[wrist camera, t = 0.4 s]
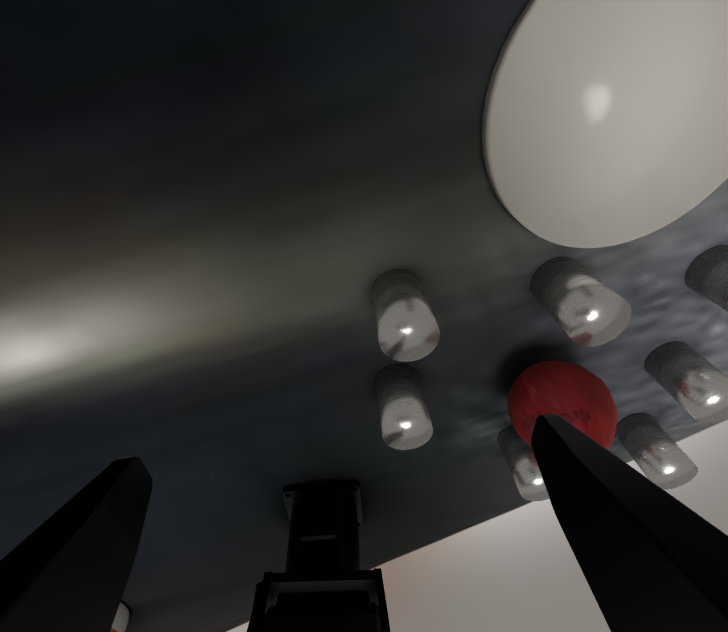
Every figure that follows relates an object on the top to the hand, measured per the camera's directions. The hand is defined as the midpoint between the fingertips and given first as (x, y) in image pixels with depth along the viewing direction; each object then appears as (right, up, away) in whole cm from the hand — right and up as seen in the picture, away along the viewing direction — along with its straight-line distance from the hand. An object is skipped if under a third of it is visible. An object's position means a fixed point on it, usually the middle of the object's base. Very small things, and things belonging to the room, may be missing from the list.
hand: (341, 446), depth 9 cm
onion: (+12, -1, +18) cm, 22 cm away
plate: (+12, +13, +9) cm, 20 cm away
